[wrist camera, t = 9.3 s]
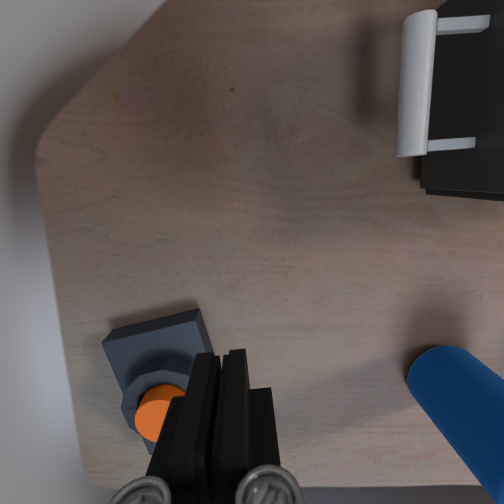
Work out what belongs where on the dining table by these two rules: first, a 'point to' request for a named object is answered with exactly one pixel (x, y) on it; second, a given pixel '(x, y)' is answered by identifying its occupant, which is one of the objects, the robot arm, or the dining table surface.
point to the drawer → (454, 95)
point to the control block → (155, 357)
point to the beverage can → (464, 410)
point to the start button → (155, 409)
